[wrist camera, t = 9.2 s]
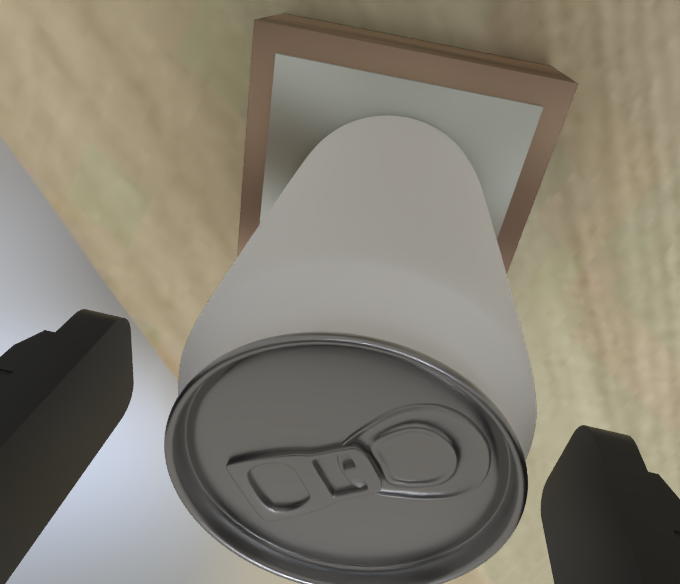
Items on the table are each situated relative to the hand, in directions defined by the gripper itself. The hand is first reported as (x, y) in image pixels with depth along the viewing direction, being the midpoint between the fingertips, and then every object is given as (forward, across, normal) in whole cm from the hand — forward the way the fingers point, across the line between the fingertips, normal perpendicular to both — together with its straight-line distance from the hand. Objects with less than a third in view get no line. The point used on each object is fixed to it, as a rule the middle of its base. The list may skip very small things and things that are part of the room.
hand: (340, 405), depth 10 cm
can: (+11, 0, 0) cm, 11 cm away
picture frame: (+15, 0, 0) cm, 15 cm away
